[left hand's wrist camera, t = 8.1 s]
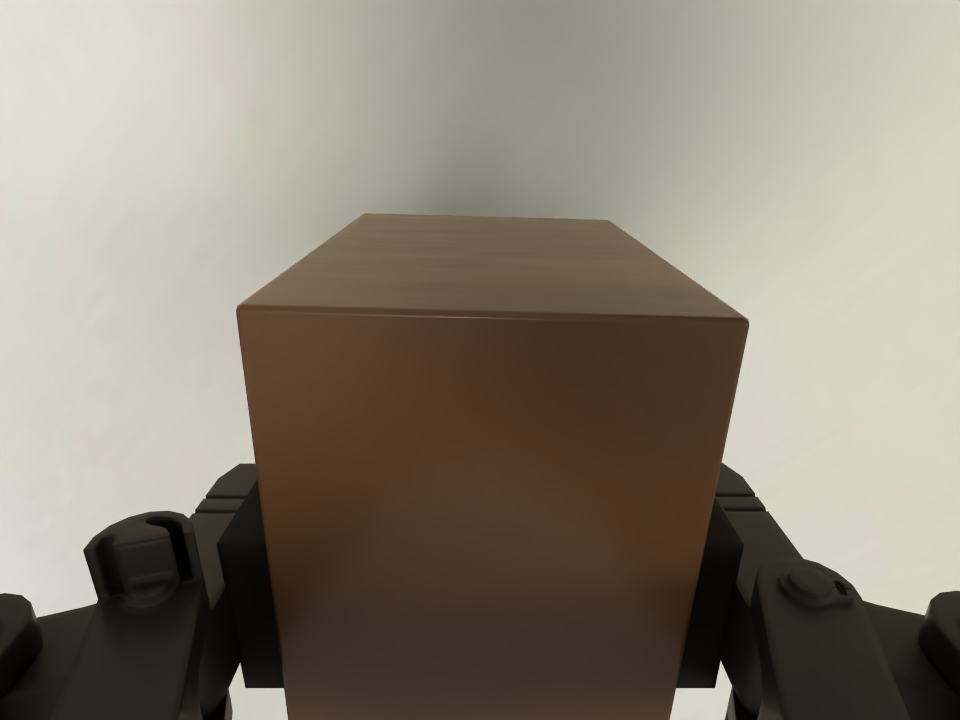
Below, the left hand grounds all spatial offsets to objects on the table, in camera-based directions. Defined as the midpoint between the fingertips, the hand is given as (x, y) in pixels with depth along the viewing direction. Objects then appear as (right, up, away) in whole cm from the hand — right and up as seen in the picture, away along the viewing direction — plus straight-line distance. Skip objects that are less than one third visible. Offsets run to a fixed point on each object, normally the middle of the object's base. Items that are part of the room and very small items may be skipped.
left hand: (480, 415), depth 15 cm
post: (-1, -30, +12) cm, 32 cm away
